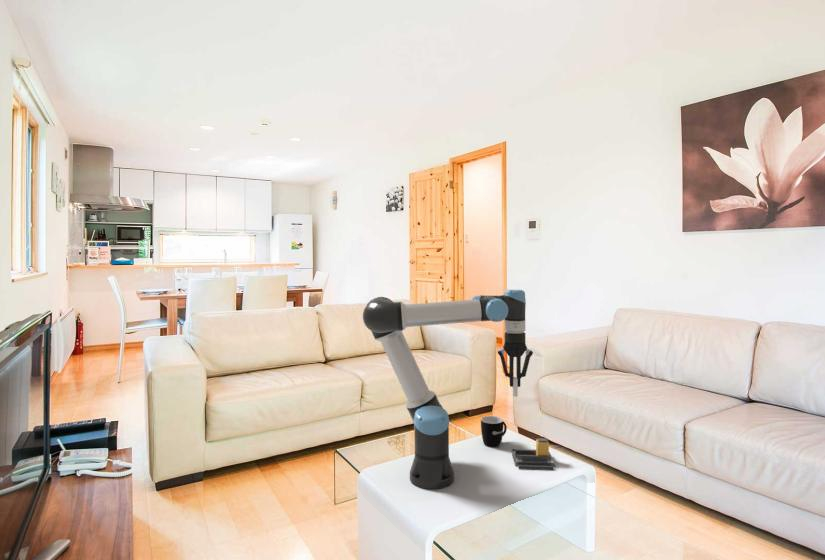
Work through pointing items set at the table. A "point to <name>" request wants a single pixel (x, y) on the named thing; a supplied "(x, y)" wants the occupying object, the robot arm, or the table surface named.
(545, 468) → the dark grey long bar
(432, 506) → the table surface
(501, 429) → the mug
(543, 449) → the toggle
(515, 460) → the panel
